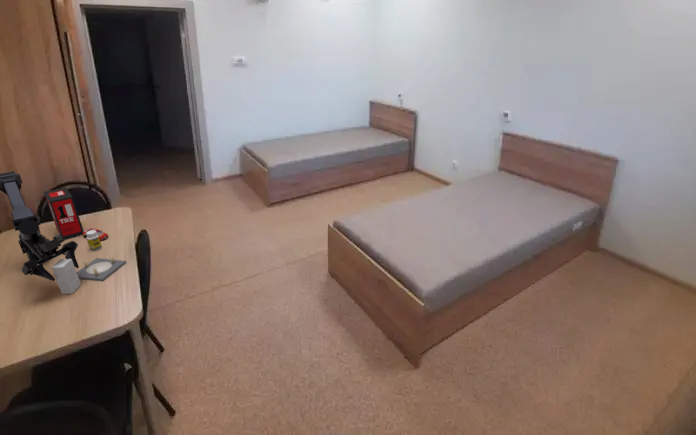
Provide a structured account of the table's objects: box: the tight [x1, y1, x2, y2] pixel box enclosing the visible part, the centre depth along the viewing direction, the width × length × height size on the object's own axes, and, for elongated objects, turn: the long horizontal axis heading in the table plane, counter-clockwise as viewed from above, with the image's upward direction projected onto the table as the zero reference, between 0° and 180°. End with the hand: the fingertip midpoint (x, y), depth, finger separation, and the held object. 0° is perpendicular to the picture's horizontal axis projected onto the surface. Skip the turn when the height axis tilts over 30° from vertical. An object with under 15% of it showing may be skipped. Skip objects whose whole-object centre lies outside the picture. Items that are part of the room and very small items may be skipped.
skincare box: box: [51, 258, 82, 295], centre depth 150 cm, size 6×4×12 cm
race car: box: [82, 228, 109, 242], centre depth 191 cm, size 13×5×4 cm, turn 66°
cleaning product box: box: [43, 187, 84, 241], centre depth 193 cm, size 16×9×20 cm, turn 43°
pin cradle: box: [76, 255, 127, 282], centre depth 164 cm, size 14×14×4 cm
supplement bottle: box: [86, 230, 103, 252], centre depth 180 cm, size 5×5×8 cm
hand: (66, 273), depth 149 cm, fingers open, 9 cm apart
